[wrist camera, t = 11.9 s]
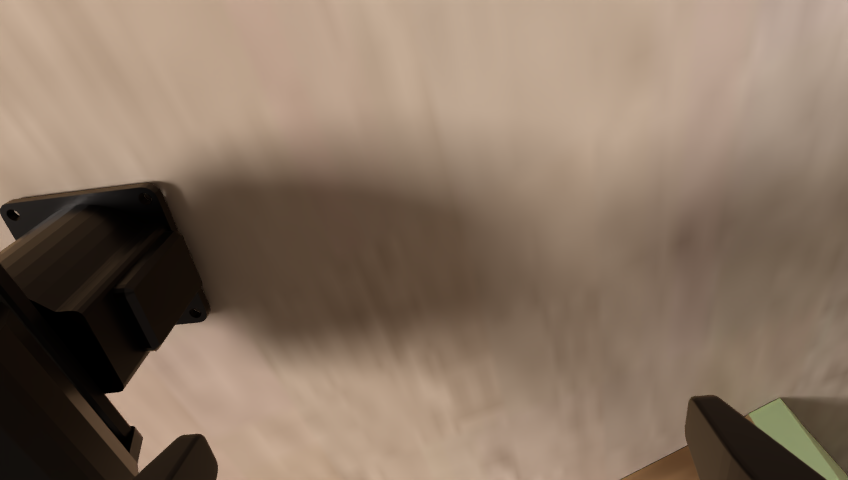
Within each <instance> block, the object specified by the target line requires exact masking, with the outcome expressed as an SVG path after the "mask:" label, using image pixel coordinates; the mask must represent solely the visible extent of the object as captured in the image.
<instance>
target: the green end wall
mask: <svg viewBox="0 0 848 480" xmlns="http://www.w3.org/2000/svg"><path fill="white" fill-rule="evenodd" d="M749 416H750V417H751V419H752V421H753V422H754V424H755V425H756V426H757V427H758V428H760V429H761V430H762V431H764V432H765V433H766V434H768V435H769V436H770V437H772V438H773V439H774V440H775V441H777V442H778V443H779V444H781V445H782V446H783V447H785V448H786V449H787V450H789V451H790V452H791V453H793V454H794V455H795V456H797V457H798V458H799V459H800V460H802V461H803V462H804V463H806V464H807V465H808V466H810V467H811V468H812V469H814V470H815V471H816V472H818V473H819V474H820V475H822V476H823V477H824V478H825V479H827V480H848V476H847V475H846V473H845V472H844V471H843V470H842V469H841V468H840V467H839V466H838V464H837V463H836V462H835V461H834V460H833V459H832V458H831V457H830V455H829V454H828V453H827V452H826V451H825V450H824V449H823V448H822V446H821V445H820V444H819V443H818V442H817V441H816V440H815V439H814V437H813V436H812V435H811V434H810V433H809V432H808V431H807V430H806V428H805V427H804V426H803V425H802V424H801V422H800V421H799V420H798V418H797V417H796V416H795V415H794V413H793V412H792V411H791V410H790V409H789V408H788V407H787V406H786V404H785V403H784V402H783V401H782V400H781V399H780V398H779V399H777V400H775V401H773V402H771V403H769V404H767V405H765V406H763V407H761V408H759V409H757V410H755V411H753V412H751V413H749Z"/></svg>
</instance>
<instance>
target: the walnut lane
mask: <svg viewBox="0 0 848 480" xmlns="http://www.w3.org/2000/svg"><path fill="white" fill-rule="evenodd" d="M745 418H747V419H748V420H749V421H751V422H752V423H753V424H754V422H753V421H752V419H751V417H750V416H749V415H747V416H745ZM754 425H755V424H754ZM621 480H700V479H699V476H698V474H697V471H696V468H695V465H694V462H693V459H692V456H691V453H690V450H689V447H688V446H686V447H684V448H682V449H680V450H678V451H676V452H674V453H672V454H670V455H668V456H666V457H665V458H663V459H661V460H659V461H657V462H655V463H653V464H651V465H649V466H647V467H645V468H643V469H641V470H639V471H637V472H635V473H633V474H631V475H629V476H627V477H625V478H623V479H621Z"/></svg>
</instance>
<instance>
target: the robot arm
mask: <svg viewBox="0 0 848 480" xmlns="http://www.w3.org/2000/svg"><path fill="white" fill-rule="evenodd" d="M144 193H146V194H148V195H150V197H151V198H152V201H151V200H148V199H146V198H145V196H144ZM14 210H15V211H17V212H18V213H19V215H20V216H19V215H17V214H16V213H15V212H14ZM0 214H1V216H2V218H3V220H4V221H5V223H6V225H7V227H8V228H9V230H10V232H11V233H12V235H13V237H14V238H15V240H16V241H15V242H13V243H12V244H10V245H9V246H8V247H6V248H5V249H4V250H2V251H1V252H0V480H216V478H217V473H218V465H217V461H216V458H215V456H214V454H213V452H212V450H211V448H210V446H209V444H208V442H207V440H206V438H205V437H204V436H203V435H201V434H190V435H182V436H180V437H178V438H177V439H176V440H175V441H173V442H172V443H171V444H170V445H169V446H168V447H167V448H166V449H165V450H164V451H163V452H161V453H160V454H159V455H158V456H157V457H156V458H155V459H154V460H153V461H152V462H151V463H149V464H148V465H147V466H146V467H145V468H144V469H143V470H142V471H141V472H140V473H138V465H137V463H138V459H139V454H140V449H141V445H142V440H143V437H142V435H141V434H140V433H139V432H138V430H137V429H136V428H135V427H134V426H130V425H129V424H128V423H127V422H126V420H125V419H124V418H123V417H122V415H121V414H120V413H119V412H118V410H117V409H116V408H115V407H114V405H113V404H112V403H111V402H110V400H109V399H108V398H107V397H106V395H105V394H106V393H115V392H121V391H123V389H124V388H125V387H126V385H127V384H128V382H129V381H130V379H131V378H132V377H133V375H134V374H135V372H136V371H137V369H138V368H139V367H140V365H141V364H142V362H143V361H144V359H145V358H146V356H147V355H148V354H149V352H150V351H157V350H158V349H159V348H160V346H161V345H162V343H163V342H164V340H165V339H166V337H167V336H168V335H169V333H170V332H171V330H172V329H173V327H174V326H175V325H178V324H188V323H198V322H202V321H204V320H205V319H206V318H207V316H208V315H209V313H210V306H209V303H208V301H207V299H206V296H205V294H204V292H203V289H202V287H201V286H202V282H201V279H200V277H199V274H198V272H197V270H196V267H195V265H194V262H193V260H192V258H191V255H190V253H189V250H188V248H187V246H186V243H185V241H184V238H183V236H182V235H181V234H180V233H179V232H178V230H177V227H176V225H175V222H174V220H173V218H172V215H171V213H170V210H169V208H168V206H167V203H166V201H165V199H164V196H163V194H162V192H161V190H160V189H159V188H158V187H157V186H155V185H153V184H151V183H141V184H133V185H125V186H117V187H109V188H101V189H93V190H85V191H77V192H69V193H61V194H53V195H45V196H37V197H29V198H21V199H14V200H11V201H9V202H7V203H6V204H4V205H2V207H1V208H0ZM194 309H198V310H199V311H200V312H197V311H195V310H194ZM685 436H686V441H687V444H688V447H689V450H690V453H691V456H692V459H693V462H694V465H695V468H696V471H697V474H698V476H699V479H700V480H827V479H825V478H824V477H823V476H822V475H820V474H819V473H818V472H816V471H815V470H814V469H812V468H811V467H810V466H808V465H807V464H806V463H804V462H803V461H802V460H800V459H799V458H798V457H797V456H795V455H794V454H793V453H791V452H790V451H789V450H787V449H786V448H785V447H783V446H782V445H781V444H779V443H778V442H777V441H775V440H774V439H773V438H772V437H770V436H769V435H768V434H766V433H765V432H764V431H762V430H761V429H760V428H758V427H757V426H756V425H754V424H753V423H752V422H751V421H749V420H748V419H747V418H745V417H744V416H743V415H741V414H740V413H739V412H737V411H736V410H735V409H733V408H732V407H731V406H729V405H728V404H727V403H726V402H724V401H723V400H722V399H720V398H719V397H717V396H714V395H704V396H694V397H691V398H690V400H689V403H688V410H687V417H686V424H685Z"/></svg>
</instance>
